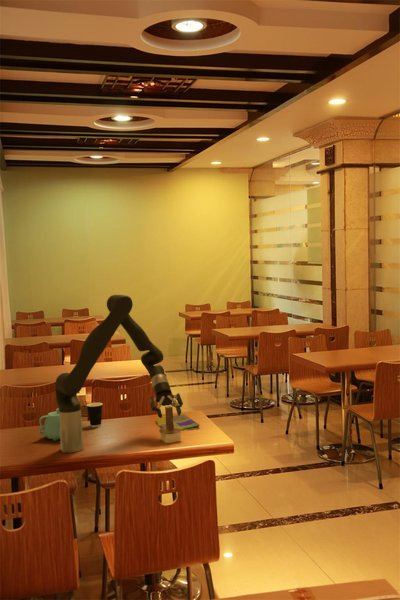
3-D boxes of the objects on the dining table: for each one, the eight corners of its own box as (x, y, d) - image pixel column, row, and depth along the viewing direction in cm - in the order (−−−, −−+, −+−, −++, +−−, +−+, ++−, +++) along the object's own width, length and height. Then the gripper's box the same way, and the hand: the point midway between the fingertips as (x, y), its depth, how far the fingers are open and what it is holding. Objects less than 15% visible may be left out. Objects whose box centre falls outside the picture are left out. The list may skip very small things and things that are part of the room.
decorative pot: (62, 443, 282) (60, 414, 281) (35, 440, 290) (34, 411, 289) (85, 434, 296) (84, 406, 295) (60, 431, 304) (58, 403, 304)
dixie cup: (88, 424, 315) (87, 403, 314) (104, 423, 316) (103, 401, 315) (87, 428, 307) (85, 406, 307) (103, 427, 308) (102, 405, 307)
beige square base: (165, 443, 274) (165, 434, 273) (161, 439, 280) (160, 430, 280) (180, 440, 276) (180, 431, 276) (175, 437, 283) (175, 428, 283)
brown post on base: (163, 435, 272) (161, 410, 271) (156, 430, 281) (155, 406, 280) (183, 432, 275) (182, 407, 275) (176, 427, 284) (175, 403, 284)
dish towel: (164, 434, 291) (164, 428, 291) (154, 422, 314) (154, 417, 314) (201, 429, 295) (200, 424, 295) (188, 418, 319) (188, 413, 319)
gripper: (147, 383, 281) (156, 413, 271) (177, 379, 286) (187, 409, 276) (144, 392, 286) (153, 422, 276) (174, 389, 292) (183, 418, 282)
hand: (170, 415), depth 276 cm, fingers open, 8 cm apart
